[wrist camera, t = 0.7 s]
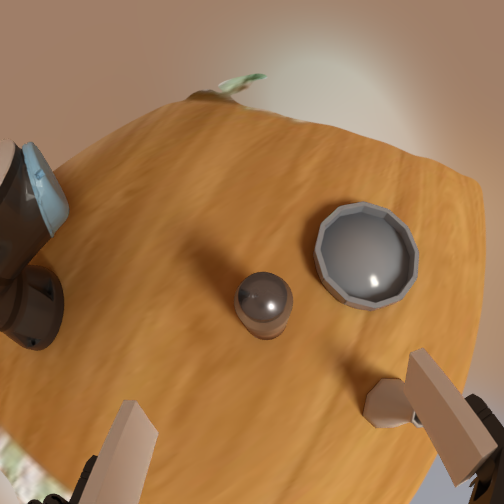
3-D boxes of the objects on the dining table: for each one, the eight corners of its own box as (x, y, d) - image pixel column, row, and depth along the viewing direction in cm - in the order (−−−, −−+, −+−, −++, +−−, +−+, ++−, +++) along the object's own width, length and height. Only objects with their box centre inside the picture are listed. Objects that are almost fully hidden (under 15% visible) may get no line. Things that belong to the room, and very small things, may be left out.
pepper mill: (240, 332, 34) (221, 315, 22) (253, 295, 35) (242, 258, 23) (279, 345, 33) (284, 334, 21) (291, 306, 34) (302, 274, 22)
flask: (378, 369, 30) (414, 369, 21) (418, 387, 28) (460, 389, 19) (352, 418, 28) (381, 436, 19) (395, 434, 26) (431, 451, 17)
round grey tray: (302, 294, 35) (304, 289, 33) (325, 200, 40) (327, 191, 38) (404, 320, 32) (412, 317, 30) (413, 227, 37) (419, 219, 35)
